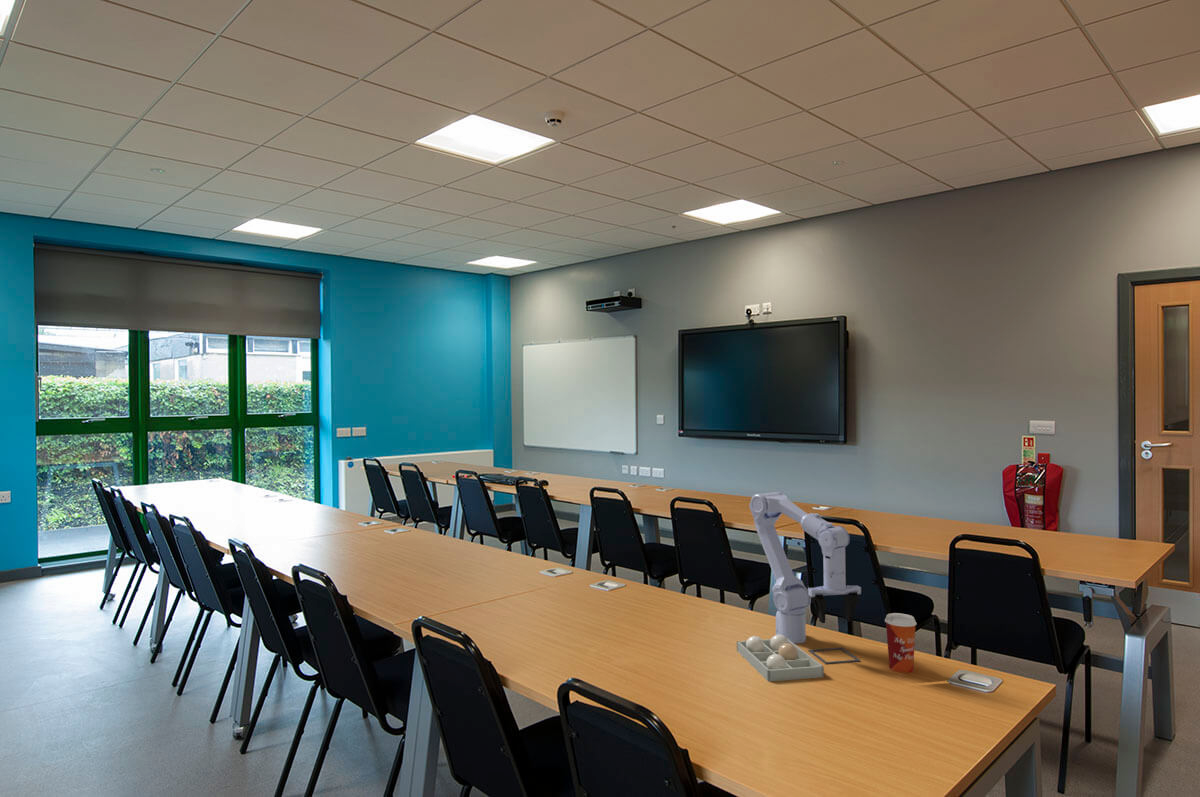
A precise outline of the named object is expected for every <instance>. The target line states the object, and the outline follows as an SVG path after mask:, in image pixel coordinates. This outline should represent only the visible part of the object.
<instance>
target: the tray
mask: <svg viewBox="0 0 1200 797" xmlns="http://www.w3.org/2000/svg"><path fill="white" fill-rule="evenodd" d="M762 640H763V642H764V650H763V652H756V653H751V652H750V651H749V650H748V649H747V648H746V641H747V640H741V641H740V640H739V641H736V652H737V653H738V654H740V656H742V658H743V659H745V660H746V661H747V662H748V663H749V665H750V666H752V667H753V668H754V670H756V671H757V672H758V673H759V674H760V675H761V676H762V677H763V679H764V680H766V681H767V682H777V681H778V682H779V681H790V680H791V681H792V680H805V679H817V678H824V677H825V676H824V675H825V673H824V672H825V671H824V670H825V669H824V668H825V667H824V665H822V664H821V663H820V662H818V661H817V660H816V659H815V658H814V657H812V656H811V655H809V654H808V653H807V652H805V651H804V650H803V649H801V648H800V647H799V646H798V645H796V643H793V642H791V641H790V640H789V639H787V640H788V642H789V644H792V645H793V646H795V648H796V649H797V652H798V656H797V659H796V660H787V661H786V668H785V669H772V670H769V669H768V668H767V666H766V661H767V659H768V657H769V656H770V655H772V654H778V651H773V650H772V648H771V645H770V641H771V638H769V639H766V638H765V639H762ZM778 655H779V654H778Z"/></svg>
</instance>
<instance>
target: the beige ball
mask: <svg viewBox="0 0 1200 797" xmlns="http://www.w3.org/2000/svg"><path fill="white" fill-rule="evenodd" d="M778 654H779V655H781V656H782V657H783V658H784V659H785V661H787V660H796V659H797V656H798V652H797V649H796V648H795V646H793V645H792V644H789V643H785V644H782V645H781V646H780V648H779V650H778Z"/></svg>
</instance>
